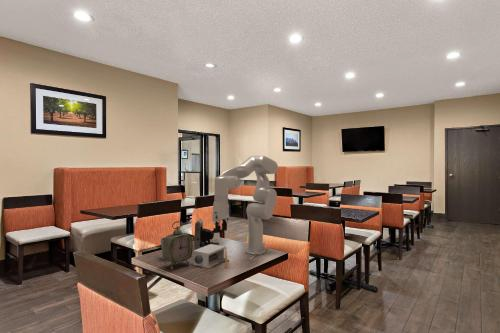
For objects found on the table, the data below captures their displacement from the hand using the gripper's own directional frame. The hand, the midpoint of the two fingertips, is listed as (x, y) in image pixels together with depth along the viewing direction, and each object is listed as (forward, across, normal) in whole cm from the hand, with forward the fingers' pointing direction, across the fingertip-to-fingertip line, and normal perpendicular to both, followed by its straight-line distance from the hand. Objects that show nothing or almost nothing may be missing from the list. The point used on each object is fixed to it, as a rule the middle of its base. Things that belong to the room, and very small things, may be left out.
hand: (221, 231), depth 163 cm
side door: (+19, -4, +1) cm, 19 cm away
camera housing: (+19, -2, -9) cm, 22 cm away
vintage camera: (+20, -21, -26) cm, 39 cm away
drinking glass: (+20, +4, -35) cm, 41 cm away
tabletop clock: (+20, +12, -21) cm, 31 cm away
